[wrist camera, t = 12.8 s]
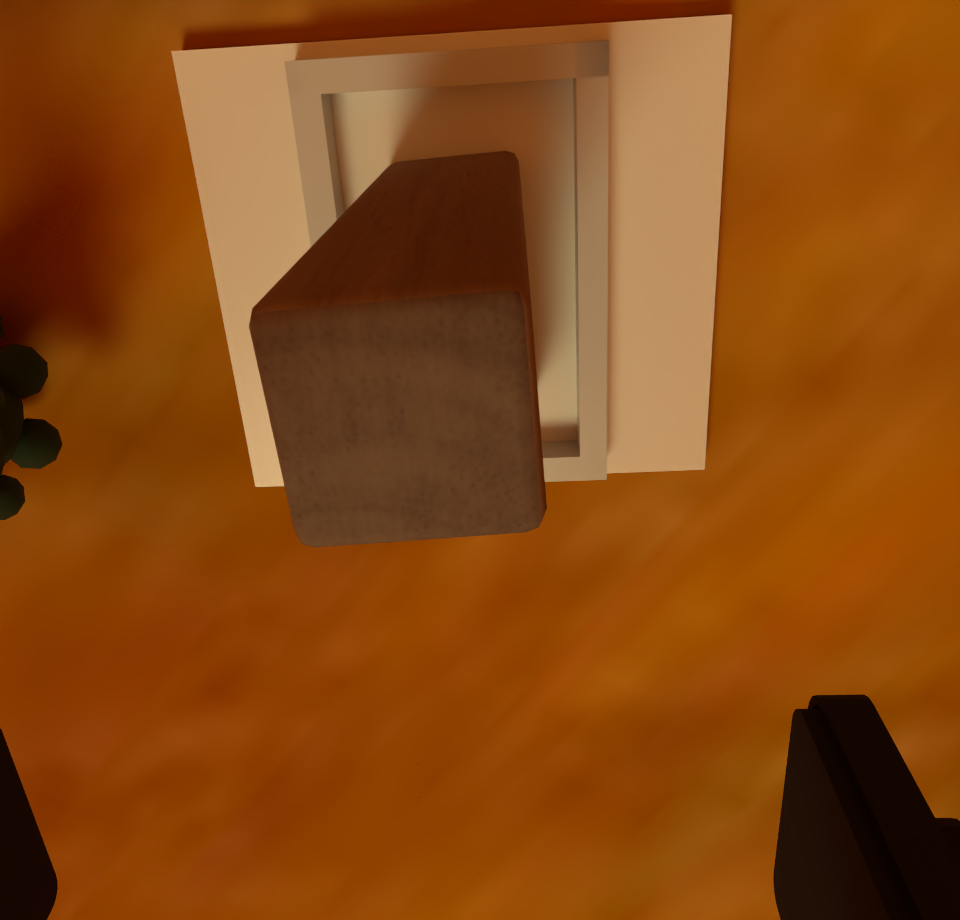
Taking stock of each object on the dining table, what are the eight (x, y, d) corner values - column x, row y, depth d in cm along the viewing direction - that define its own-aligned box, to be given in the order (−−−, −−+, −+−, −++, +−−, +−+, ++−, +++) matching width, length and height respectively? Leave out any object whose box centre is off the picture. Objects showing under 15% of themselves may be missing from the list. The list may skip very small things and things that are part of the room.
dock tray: (724, 15, 28) (743, 12, 26) (699, 458, 35) (712, 486, 33) (181, 50, 29) (154, 51, 27) (261, 475, 36) (245, 504, 34)
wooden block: (536, 396, 33) (564, 738, 17) (420, 405, 33) (337, 750, 17) (518, 147, 29) (529, 282, 13) (385, 161, 29) (236, 309, 13)
